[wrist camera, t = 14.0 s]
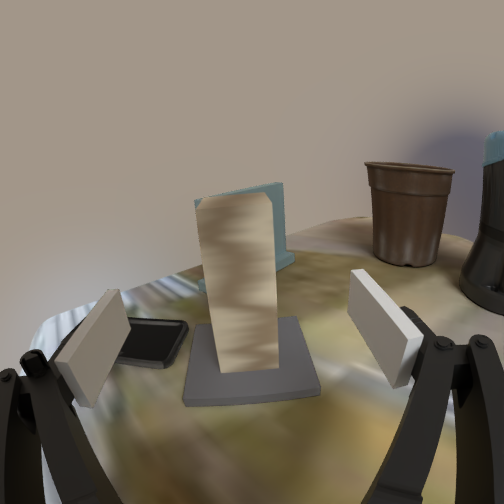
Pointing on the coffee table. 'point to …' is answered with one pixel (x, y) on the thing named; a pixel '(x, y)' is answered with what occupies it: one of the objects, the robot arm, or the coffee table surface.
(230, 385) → the charcoal mat
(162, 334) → the phone
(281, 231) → the standing board
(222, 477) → the coffee table surface
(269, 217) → the tall tan block
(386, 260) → the plant pot
